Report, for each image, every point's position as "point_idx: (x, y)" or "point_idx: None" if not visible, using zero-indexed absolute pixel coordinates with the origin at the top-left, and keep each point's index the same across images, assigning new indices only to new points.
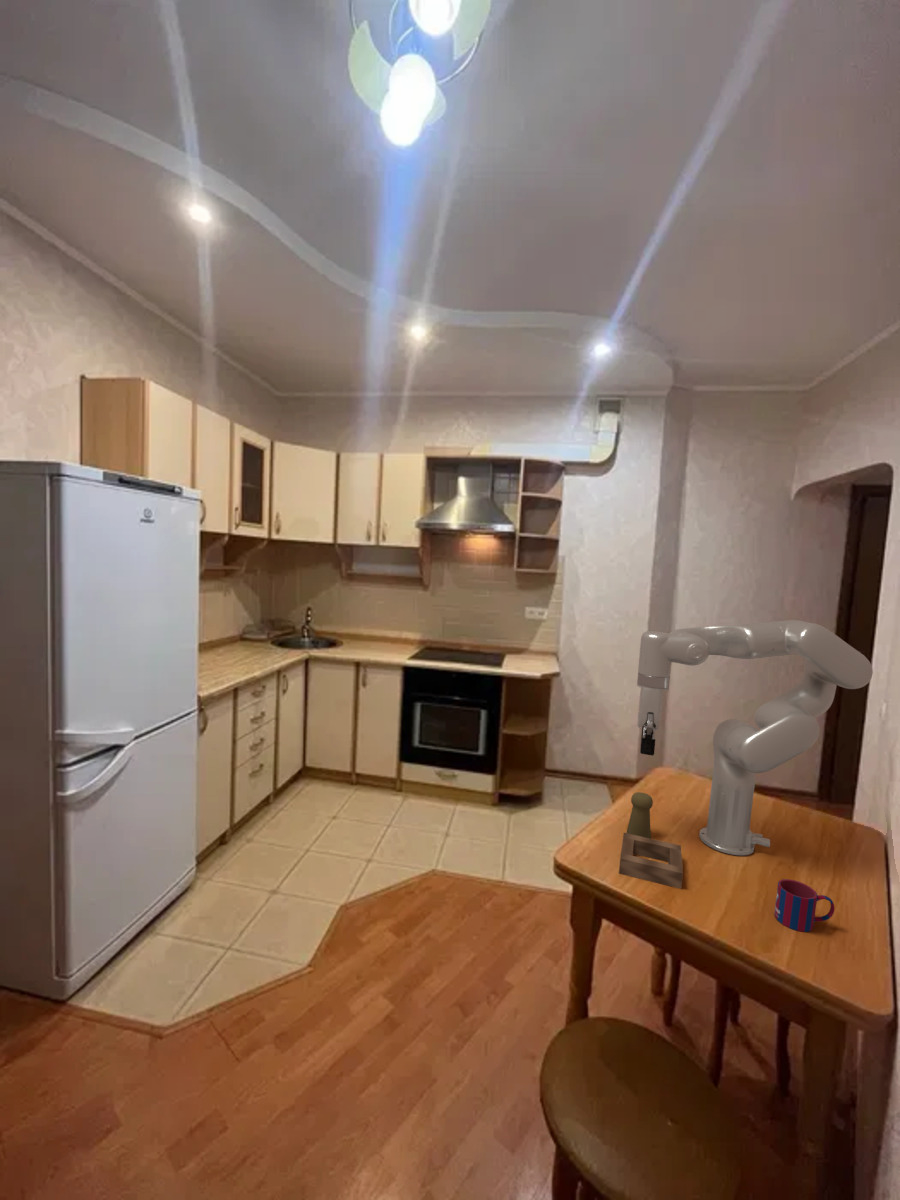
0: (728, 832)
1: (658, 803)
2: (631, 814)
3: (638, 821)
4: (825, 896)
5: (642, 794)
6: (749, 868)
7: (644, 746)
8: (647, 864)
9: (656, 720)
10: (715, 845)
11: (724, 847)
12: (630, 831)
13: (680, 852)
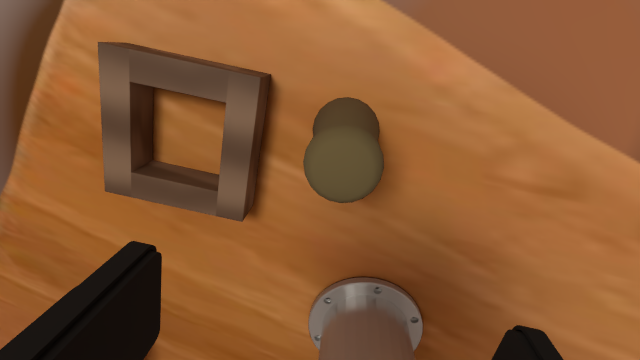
0: (321, 344)
1: (576, 232)
2: (341, 117)
3: (315, 134)
4: None
5: (343, 172)
6: (267, 325)
7: (40, 316)
8: (102, 114)
9: None
10: (322, 297)
11: (319, 311)
12: (327, 107)
13: (203, 211)
